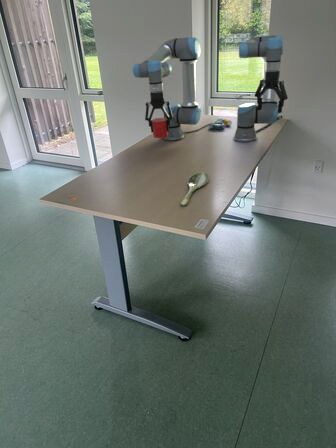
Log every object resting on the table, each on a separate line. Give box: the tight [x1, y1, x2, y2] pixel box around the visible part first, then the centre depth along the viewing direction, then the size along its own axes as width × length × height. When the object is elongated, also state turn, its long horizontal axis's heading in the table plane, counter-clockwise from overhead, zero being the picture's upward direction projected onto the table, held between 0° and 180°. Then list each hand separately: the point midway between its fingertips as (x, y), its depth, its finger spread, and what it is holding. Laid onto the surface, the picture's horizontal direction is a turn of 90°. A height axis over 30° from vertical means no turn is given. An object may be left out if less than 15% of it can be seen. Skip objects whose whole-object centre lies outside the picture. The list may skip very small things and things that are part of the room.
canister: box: [151, 117, 168, 139], centre depth 198 cm, size 9×9×10 cm
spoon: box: [180, 171, 210, 207], centre depth 170 cm, size 35×11×2 cm, turn 159°
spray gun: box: [209, 118, 233, 130], centre depth 263 cm, size 21×4×15 cm
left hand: (160, 131), depth 199 cm, fingers closed on canister, 9 cm apart
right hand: (269, 111), depth 190 cm, fingers open, 13 cm apart
